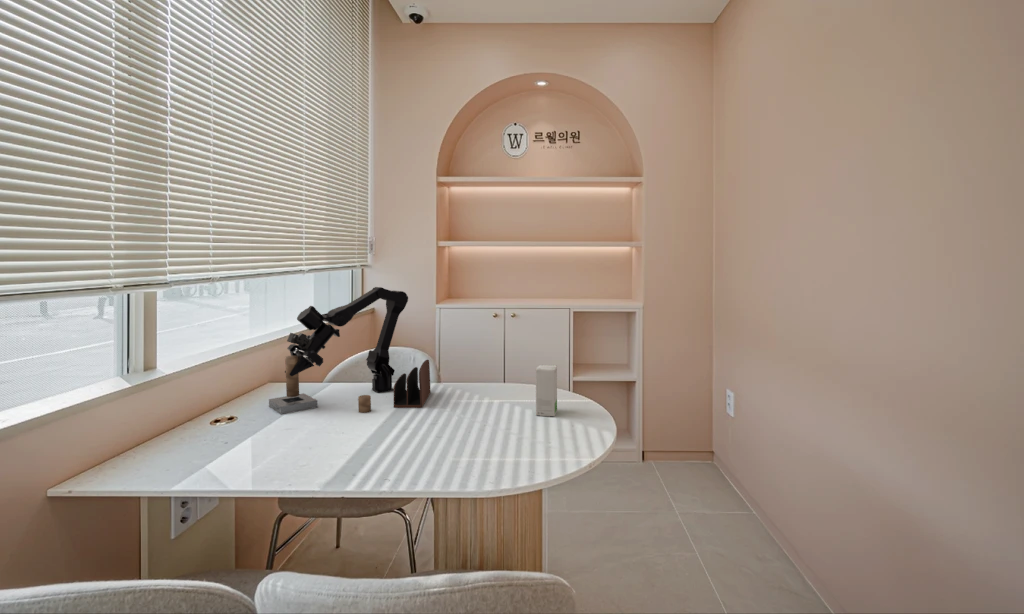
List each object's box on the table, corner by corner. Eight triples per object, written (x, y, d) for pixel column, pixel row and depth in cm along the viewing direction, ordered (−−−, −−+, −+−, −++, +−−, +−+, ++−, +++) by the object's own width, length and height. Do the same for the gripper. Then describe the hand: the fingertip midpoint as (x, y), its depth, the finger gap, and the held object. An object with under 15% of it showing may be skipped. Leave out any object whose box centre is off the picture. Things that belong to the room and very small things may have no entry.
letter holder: (430, 393, 199) (430, 356, 197) (422, 408, 179) (421, 368, 178) (404, 393, 199) (403, 356, 197) (393, 408, 179) (392, 368, 178)
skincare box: (554, 417, 170) (555, 370, 168) (534, 416, 171) (534, 369, 169) (557, 410, 178) (558, 364, 176) (538, 408, 179) (538, 364, 177)
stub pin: (368, 408, 178) (367, 394, 177) (372, 411, 175) (372, 396, 174) (356, 410, 175) (356, 396, 175) (361, 413, 172) (360, 398, 172)
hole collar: (304, 400, 188) (303, 393, 187) (317, 407, 179) (317, 400, 179) (269, 406, 180) (268, 399, 179) (281, 414, 171) (280, 406, 171)
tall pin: (299, 393, 181) (298, 355, 180) (298, 396, 178) (297, 357, 176) (287, 394, 180) (285, 355, 179) (286, 397, 176) (284, 358, 175)
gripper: (292, 321, 186) (260, 355, 180) (312, 326, 172) (279, 364, 166) (314, 340, 192) (285, 374, 186) (336, 347, 178) (305, 384, 172)
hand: (288, 374), depth 177 cm, fingers closed on tall pin, 4 cm apart
